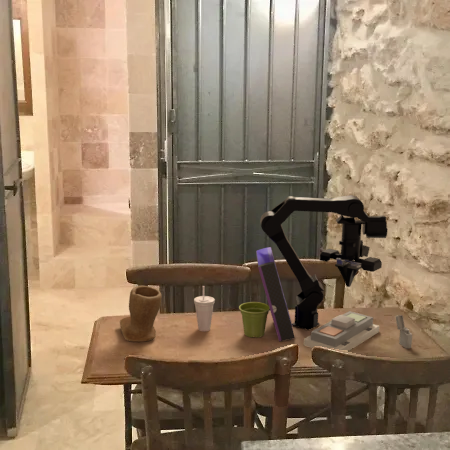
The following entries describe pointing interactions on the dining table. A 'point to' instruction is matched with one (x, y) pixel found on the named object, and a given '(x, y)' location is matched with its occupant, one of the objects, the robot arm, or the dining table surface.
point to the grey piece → (343, 335)
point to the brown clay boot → (141, 314)
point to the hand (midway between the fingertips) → (348, 286)
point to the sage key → (356, 317)
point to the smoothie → (204, 311)
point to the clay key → (331, 331)
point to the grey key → (343, 322)
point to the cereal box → (274, 294)
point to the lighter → (403, 332)
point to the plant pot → (254, 318)
